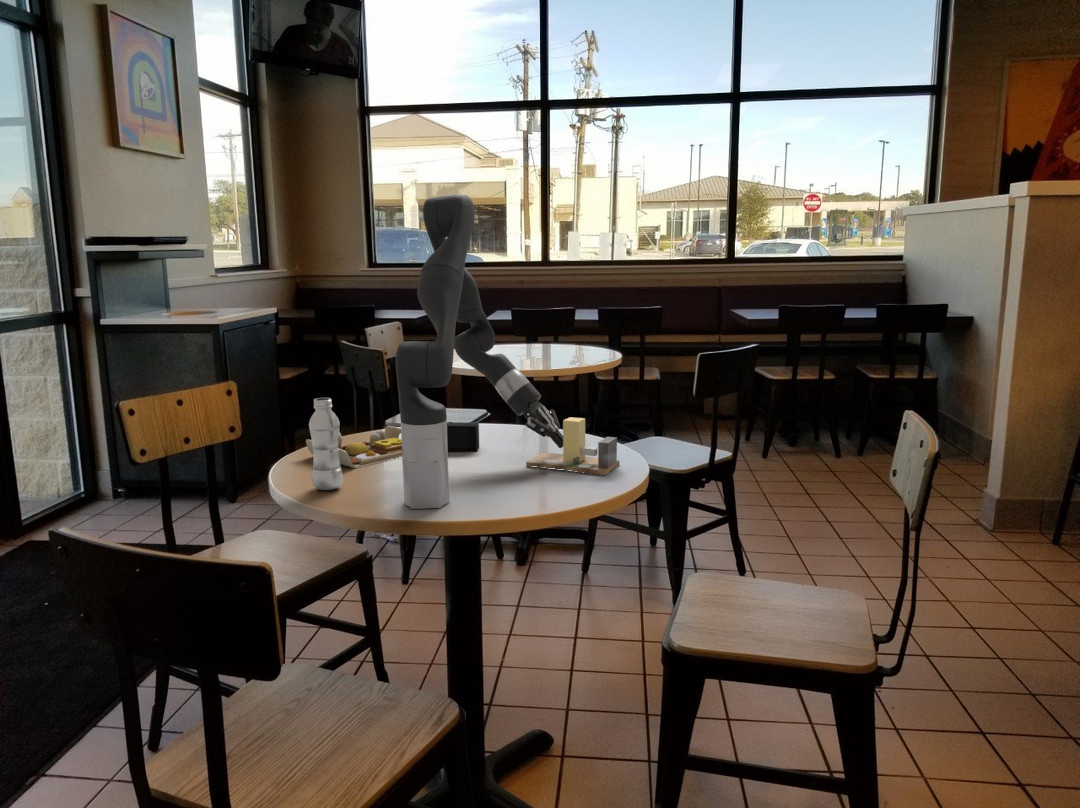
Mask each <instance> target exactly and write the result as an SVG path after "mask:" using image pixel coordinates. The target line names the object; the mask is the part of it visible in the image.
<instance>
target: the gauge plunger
mask: <svg viewBox="0 0 1080 808" xmlns="http://www.w3.org/2000/svg"><path fill="white" fill-rule="evenodd" d="M562 429H563V430H562V435H563V447H562V454H563V461H564V462H573V464H577V463H580V462H582V461H583V460H585V457H586V456H588V457H596V456H598V447H593V446H592V447H591V446H586V418H583V417H571V416H570V417H569V416H568V418H565V419H563V421H562Z"/></svg>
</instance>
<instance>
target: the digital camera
mask: <svg viewBox="0 0 1080 808" xmlns="http://www.w3.org/2000/svg"><path fill="white" fill-rule="evenodd" d="M447 448H448V451H451V452H452V451H453V452H454V453H456V452H457V453H461V452H462V453H463V452H464V453H466V452H467V453H477V452H478V451H479V449H480V423H479V422H455V421H454V422H453V421H447ZM453 452H452V453H453Z"/></svg>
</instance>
